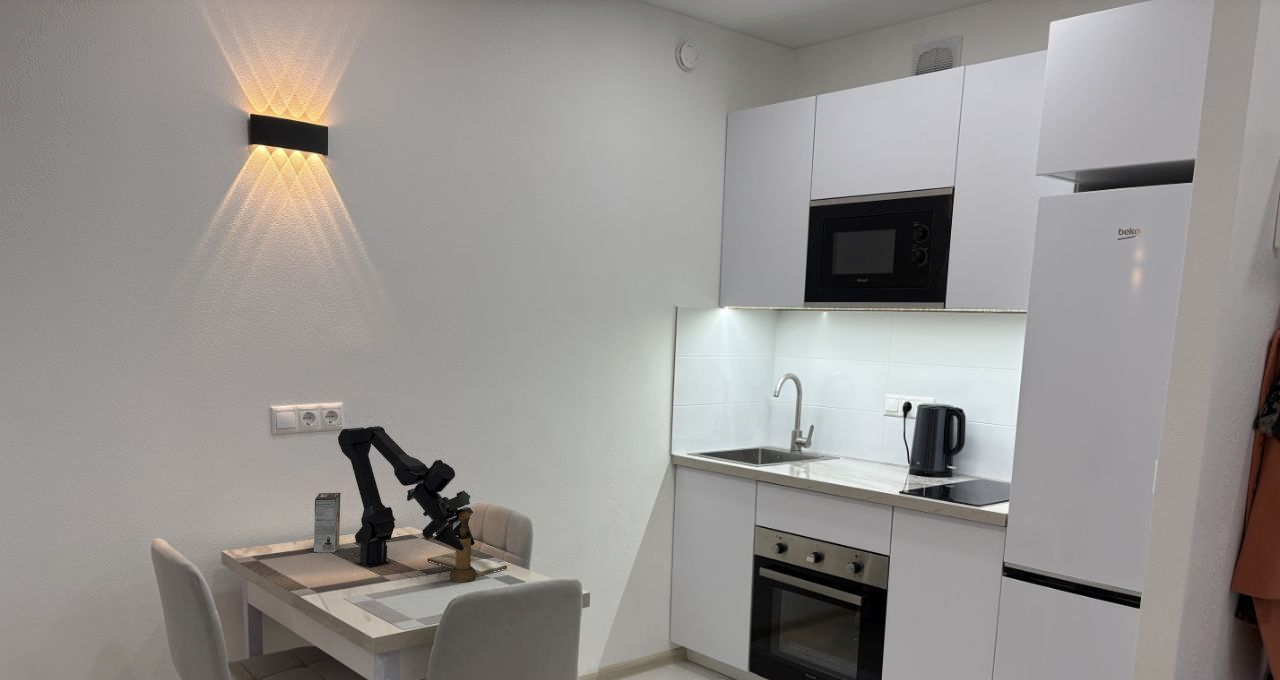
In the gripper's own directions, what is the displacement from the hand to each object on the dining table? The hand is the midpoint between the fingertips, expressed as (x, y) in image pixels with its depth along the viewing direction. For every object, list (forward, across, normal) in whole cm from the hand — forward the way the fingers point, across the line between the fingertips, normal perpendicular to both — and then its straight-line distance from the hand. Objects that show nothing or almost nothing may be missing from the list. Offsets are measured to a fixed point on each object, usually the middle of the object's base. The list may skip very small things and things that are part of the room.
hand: (468, 547), depth 226 cm
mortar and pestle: (+5, 0, +7) cm, 9 cm away
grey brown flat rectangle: (+1, +13, +11) cm, 17 cm away
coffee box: (-32, +15, +44) cm, 57 cm away
